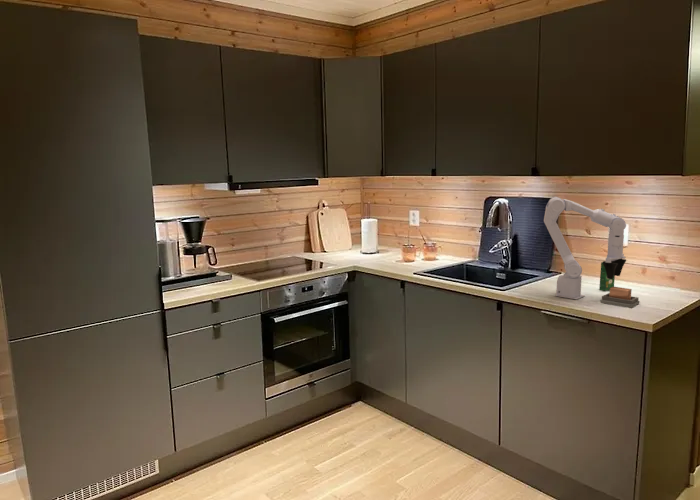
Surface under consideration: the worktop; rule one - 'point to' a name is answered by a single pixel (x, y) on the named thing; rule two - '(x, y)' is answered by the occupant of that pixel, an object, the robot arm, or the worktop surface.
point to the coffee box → (605, 280)
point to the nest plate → (619, 301)
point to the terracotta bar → (620, 293)
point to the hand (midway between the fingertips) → (613, 277)
